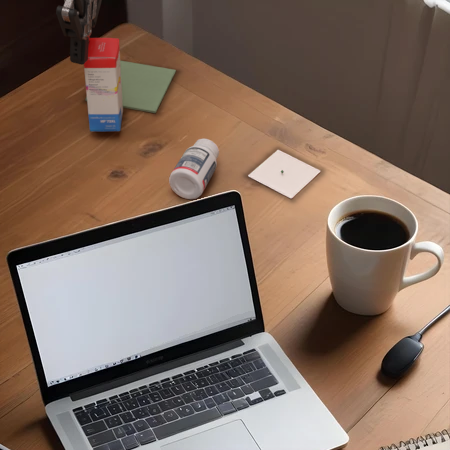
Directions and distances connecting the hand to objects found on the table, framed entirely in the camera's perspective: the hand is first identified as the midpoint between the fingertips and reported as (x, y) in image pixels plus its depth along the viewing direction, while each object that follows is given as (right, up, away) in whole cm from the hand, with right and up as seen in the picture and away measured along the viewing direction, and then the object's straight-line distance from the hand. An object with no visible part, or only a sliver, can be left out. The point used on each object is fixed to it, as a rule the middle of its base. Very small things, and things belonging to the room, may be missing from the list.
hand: (78, 61), depth 120 cm
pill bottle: (+15, -18, 0) cm, 23 cm away
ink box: (+2, -6, +12) cm, 14 cm away
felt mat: (+5, +2, +20) cm, 20 cm away
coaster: (+30, -15, +7) cm, 34 cm away
